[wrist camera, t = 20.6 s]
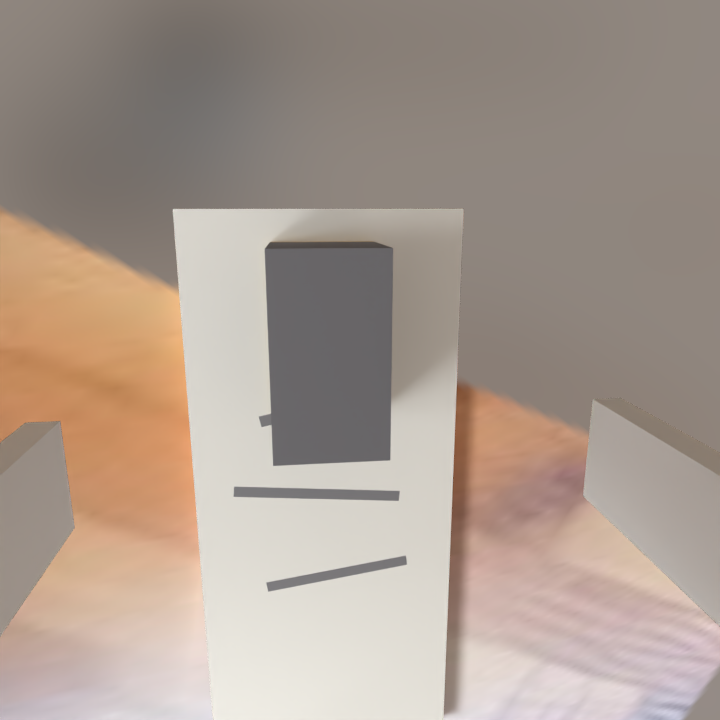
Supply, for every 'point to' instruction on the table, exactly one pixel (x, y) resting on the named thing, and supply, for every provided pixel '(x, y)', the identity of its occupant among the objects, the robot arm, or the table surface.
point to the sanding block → (329, 350)
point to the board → (321, 481)
